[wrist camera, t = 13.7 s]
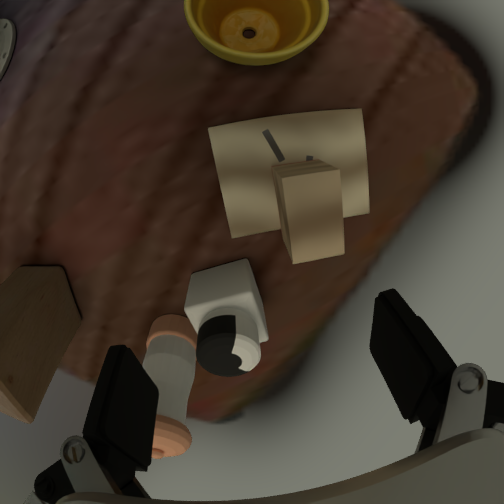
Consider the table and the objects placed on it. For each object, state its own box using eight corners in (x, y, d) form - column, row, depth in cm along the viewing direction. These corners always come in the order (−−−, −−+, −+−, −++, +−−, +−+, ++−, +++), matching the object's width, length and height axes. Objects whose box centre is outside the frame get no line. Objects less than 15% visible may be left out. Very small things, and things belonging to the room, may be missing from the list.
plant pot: (279, 93, 25) (303, 80, 16) (183, 63, 22) (160, 37, 14) (312, 16, 21) (346, -19, 12) (220, -14, 18) (217, -60, 10)
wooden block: (64, 263, 31) (-17, 370, 13) (85, 321, 36) (34, 429, 18) (18, 263, 31) (-57, 349, 13) (39, 316, 35) (-15, 406, 17)
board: (208, 127, 26) (207, 128, 25) (357, 108, 26) (361, 108, 25) (231, 234, 31) (232, 238, 30) (365, 210, 31) (369, 213, 30)
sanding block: (271, 166, 27) (281, 178, 22) (318, 159, 27) (339, 169, 22) (282, 237, 31) (293, 264, 25) (325, 229, 31) (344, 253, 25)
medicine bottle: (211, 316, 36) (206, 389, 26) (190, 272, 33) (175, 343, 22) (262, 303, 36) (275, 375, 25) (247, 256, 33) (255, 325, 22)
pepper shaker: (175, 356, 39) (159, 471, 22) (141, 327, 37) (106, 446, 19) (211, 338, 38) (207, 464, 21) (176, 305, 35) (150, 438, 18)
